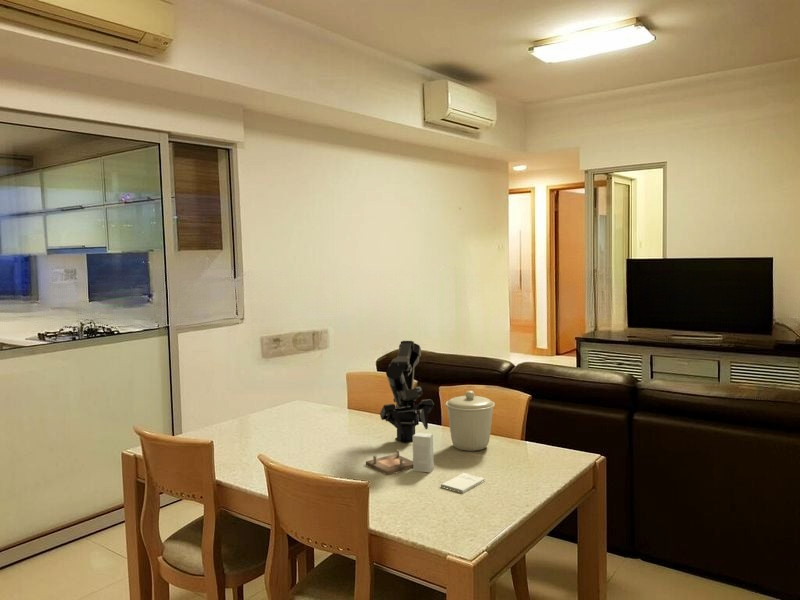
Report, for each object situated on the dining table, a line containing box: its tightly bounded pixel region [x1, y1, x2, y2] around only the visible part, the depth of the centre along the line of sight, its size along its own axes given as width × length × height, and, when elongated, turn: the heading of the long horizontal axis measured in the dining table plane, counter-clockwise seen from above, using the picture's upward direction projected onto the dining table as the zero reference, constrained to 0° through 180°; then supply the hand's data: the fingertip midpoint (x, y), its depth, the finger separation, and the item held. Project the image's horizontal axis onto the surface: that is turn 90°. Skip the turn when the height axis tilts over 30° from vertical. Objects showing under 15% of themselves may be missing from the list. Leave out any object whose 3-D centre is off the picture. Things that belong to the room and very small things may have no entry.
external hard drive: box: [440, 472, 486, 494], centre depth 190 cm, size 2×8×12 cm
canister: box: [445, 390, 496, 452], centre depth 225 cm, size 18×18×21 cm
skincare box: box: [412, 432, 434, 474], centre depth 202 cm, size 6×4×12 cm
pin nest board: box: [365, 449, 413, 476], centre depth 207 cm, size 13×13×4 cm
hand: (414, 430), depth 207 cm, fingers open, 9 cm apart
